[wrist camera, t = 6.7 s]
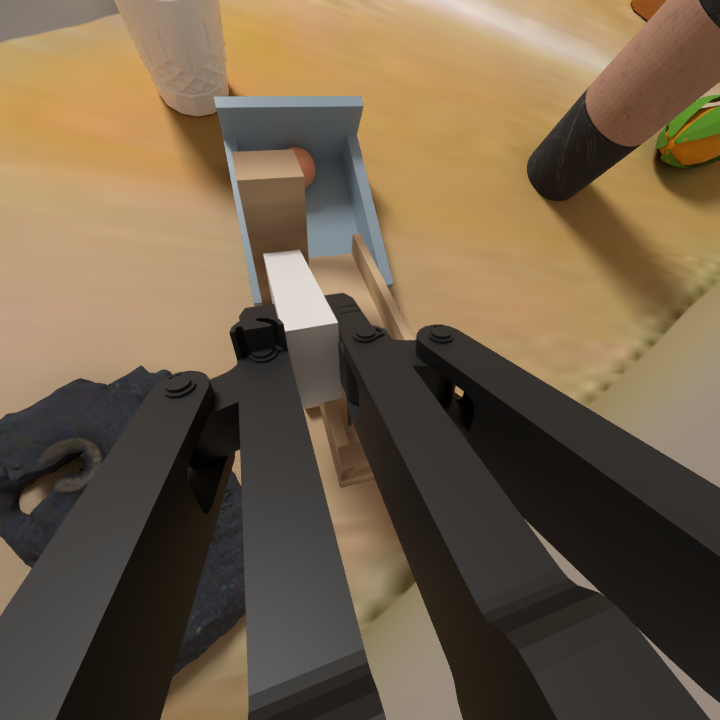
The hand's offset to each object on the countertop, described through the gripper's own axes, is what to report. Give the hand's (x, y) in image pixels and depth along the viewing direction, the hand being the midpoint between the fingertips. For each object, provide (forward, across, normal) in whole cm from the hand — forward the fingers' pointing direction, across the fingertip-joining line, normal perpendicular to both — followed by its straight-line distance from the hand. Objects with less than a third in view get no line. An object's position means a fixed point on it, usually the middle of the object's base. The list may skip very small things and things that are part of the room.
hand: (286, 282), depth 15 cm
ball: (+22, +4, +2) cm, 23 cm away
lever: (+4, +4, -7) cm, 9 cm away
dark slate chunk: (+5, -14, -20) cm, 25 cm away
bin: (+20, +4, -3) cm, 21 cm away
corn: (+25, +60, +1) cm, 65 cm away
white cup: (+32, -4, +8) cm, 33 cm away
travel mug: (+23, +35, -1) cm, 42 cm away
